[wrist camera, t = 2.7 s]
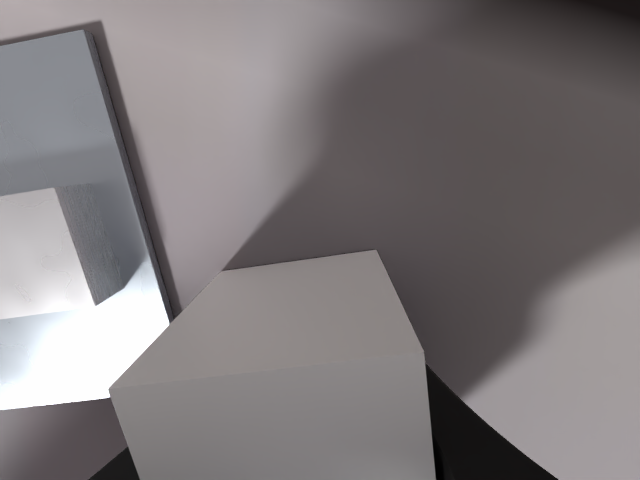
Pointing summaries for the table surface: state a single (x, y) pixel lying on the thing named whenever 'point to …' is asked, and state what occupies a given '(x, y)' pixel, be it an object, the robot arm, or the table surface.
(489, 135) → the table surface
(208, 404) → the block
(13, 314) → the rail
